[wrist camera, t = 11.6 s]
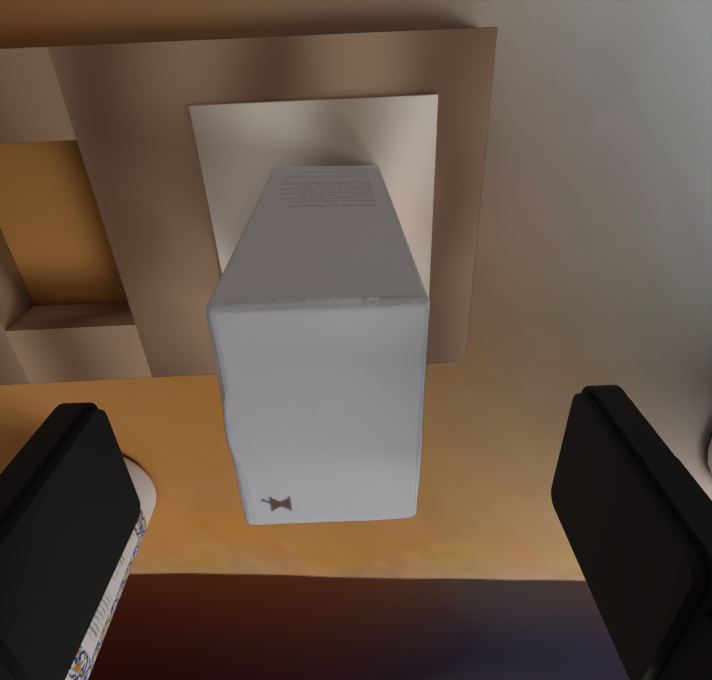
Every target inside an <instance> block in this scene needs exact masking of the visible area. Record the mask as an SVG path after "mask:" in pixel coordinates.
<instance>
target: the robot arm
mask: <svg viewBox="0 0 712 680" xmlns="http://www.w3.org/2000/svg"><path fill="white" fill-rule="evenodd" d="M708 466H709V469H710V472H711V474H712V438H711V442H710V445H709V449H708ZM551 497H552V502H553V506H554V508H555V511H556V513H557V515H558V518H559V520H560V522H561V524H562V527H563V529H564V531H565V534H566V536H567V538H568V540H569V543H570V545H571V547H572V550H573V552H574V554H575V556H576V559H577V561H578V563H579V566H580V568H581V570H582V572H583V575H584V577H585V579H586V582H587V583H588V586H589V588H590V591H591V593H592V595H593V598H594V600H595V602H596V604H597V606H598V609H599V611H600V613H601V616H602V618H603V620H604V623H605V625H606V627H607V629H608V632H609V634H610V636H611V639H612V641H613V643H614V645H615V648H616V650H617V652H618V654H619V657H620V659H621V661H622V664H623V666H624V668H625V671H626V673H627V675H628V677H629V678H630V679H631V680H712V501H711V499H710V498H709V497H708V496H707V494H706V493H705V492H704V491H703V489H702V488H701V487H700V485H699V484H698V483H697V482H696V480H695V479H694V478H693V477H692V475H691V474H690V473H689V472H688V470H687V469H686V468H685V467H684V465H683V464H682V463H681V462H680V460H679V459H678V458H677V457H676V456H675V455H674V454H673V453H672V452H671V450H670V449H669V448H668V447H667V445H666V444H665V443H664V442H663V440H662V439H661V438H660V436H659V435H658V434H657V433H656V431H655V430H654V429H653V428H652V426H651V425H650V424H649V423H648V421H647V420H646V419H645V417H644V416H643V415H642V414H641V412H640V411H639V410H638V409H637V407H636V406H635V405H634V404H633V402H632V401H631V400H630V398H629V397H628V396H627V395H626V393H625V392H624V391H623V390H622V389H621V388H620V387H619V386H617V385H599V386H586V387H585V388H584V389H583V390H582V393H580V394H575V396H574V397H573V400H572V405H571V409H570V413H569V417H568V421H567V425H566V430H565V434H564V438H563V442H562V446H561V450H560V455H559V459H558V463H557V467H556V471H555V475H554V480H553V484H552V489H551ZM140 509H141V505H140V500H139V497H138V494H137V492H136V489H135V487H134V484H133V482H132V479H131V476H130V474H129V471H128V469H127V466H126V463H125V461H124V458H123V456H122V453H121V451H120V448H119V445H118V443H117V440H116V438H115V435H114V432H113V430H112V427H111V425H110V422H109V420H108V417H107V415H106V413H105V412H104V411H103V410H100V409H98V408H97V406H96V405H95V404H94V403H63V404H60V405H58V406H57V407H56V408H55V409H54V410H53V412H52V413H51V414H50V415H49V417H48V418H47V419H46V420H45V421H44V423H43V424H42V425H41V426H40V427H39V429H38V430H37V431H36V432H35V433H34V435H33V436H32V437H31V438H30V439H29V441H28V442H27V443H26V444H25V445H24V447H23V448H22V449H21V450H20V452H19V453H18V454H17V455H16V456H15V458H14V459H13V460H12V461H11V462H10V464H9V465H8V466H7V467H6V468H5V470H4V471H3V472H2V473H1V474H0V680H65V679H66V677H67V675H68V672H69V670H70V668H71V666H72V664H73V661H74V659H75V657H76V655H77V653H78V650H79V648H80V646H81V644H82V642H83V639H84V637H85V635H86V633H87V631H88V629H89V626H90V624H91V622H92V620H93V618H94V615H95V613H96V611H97V609H98V607H99V604H100V602H101V600H102V598H103V596H104V593H105V591H106V589H107V587H108V585H109V583H110V580H111V578H112V576H113V574H114V572H115V569H116V567H117V565H118V563H119V561H120V558H121V556H122V554H123V552H124V550H125V548H126V545H127V543H128V541H129V539H130V537H131V534H132V532H133V530H134V528H135V526H136V523H137V521H138V519H139V516H140Z"/></svg>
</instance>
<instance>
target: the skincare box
mask: <svg viewBox="0 0 712 680" xmlns="http://www.w3.org/2000/svg"><path fill="white" fill-rule="evenodd" d="M429 309H430V301H429V298H428V296H427V293H426V290H425V288H424V285H423V283H422V280H421V277H420V275H419V272H418V269H417V267H416V264H415V262H414V259H413V256H412V254H411V251H410V248H409V245H408V242H407V240H406V238H405V235H404V232H403V229H402V226H401V224H400V221H399V219H398V216H397V213H396V210H395V208H394V205H393V202H392V200H391V197H390V195H389V192H388V189H387V187H386V184H385V182H384V179H383V176H382V174H381V171H380V168H379V167H378V166H376V165H360V166H278V167H275V168H273V170H272V172H271V174H270V177H269V179H268V181H267V183H266V185H265V187H264V189H263V191H262V193H261V195H260V197H259V199H258V201H257V204H256V206H255V208H254V210H253V212H252V214H251V216H250V218H249V220H248V222H247V224H246V226H245V228H244V231H243V233H242V235H241V237H240V239H239V241H238V243H237V245H236V247H235V249H234V251H233V253H232V255H231V257H230V260H229V262H228V264H227V266H226V267H225V270H224V272H223V274H222V276H221V278H220V280H219V283H218V284H217V286H216V288H215V290H214V292H213V294H212V296H211V298H210V301H209V303H208V305H207V309H206V317H207V323H208V328H209V333H210V338H211V343H212V348H213V353H214V358H215V363H216V369H217V375H218V380H219V385H220V390H221V396H222V404H223V415H224V426H225V432H226V437H227V442H228V446H229V449H230V451H231V453H232V457H233V461H234V466H235V471H236V476H237V481H238V485H239V490H240V494H241V499H242V504H243V509H244V514H245V519H246V522H247V523H249V524H250V525H265V524H287V523H311V522H343V521H369V520H387V519H399V518H410V517H413V516H414V515H415V514H416V506H417V495H418V484H419V475H420V463H421V450H422V421H423V398H424V384H425V369H426V353H427V336H428V320H429Z"/></svg>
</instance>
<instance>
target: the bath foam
mask: <svg viewBox="0 0 712 680" xmlns="http://www.w3.org/2000/svg"><path fill="white" fill-rule="evenodd" d="M123 458H124V461H125V463H126V466H127V469H128V471H129V474H130V476H131V479H132V482H133V484H134V487H135V489H136V492H137V494H138V497H139V500H140V505H141V509H140V516H139V519H138V521H137V523H136V526H135V528H134V530H133V532H132V534H131V537H130V539H129V541H128V543H127V545H126V548H125V550H124V552H123V554H122V556H121V558H120V561H119V563H118V565H117V567H116V569H115V572H114V574H113V576H112V578H111V580H110V583H109V585H108V587H107V589H106V591H105V593H104V596H103V598H102V600H101V602H100V604H99V607H98V609H97V611H96V613H95V615H94V618H93V620H92V622H91V624H90V626H89V629H88V631H87V633H86V635H85V637H84V639H83V642H82V644H81V646H80V648H79V650H78V653H77V655H76V657H75V659H74V661H73V664H72V666H71V668H70V670H69V672H68V675H67V677H66V679H65V680H88V678H89V675H90V673H91V670H92V668H93V665H94V662H95V660H96V657H97V655H98V652H99V650H100V647H101V644H102V642H103V639H104V637H105V634H106V632H107V629H108V626H109V624H110V621H111V619H112V616H113V614H114V611H115V609H116V606H117V603H118V601H119V598H120V596H121V593H122V590H123V588H124V585H125V582H126V580H127V578H128V575H129V573H130V570H131V567H132V565H133V562H134V560H135V557H136V555H137V552H138V549H139V547H140V544H141V542H142V539H143V537H144V534H145V531H146V528H147V525H148V523H149V520H150V518H151V515H152V513H153V510H154V507H155V504H156V490H155V487H154V485H153V482H152V480H151V479H150V477H149V476H148V474H147V473H146V472H145V471H144V470H143V469H142V468H141V467H139V466H138V465H137V464H135V463H134V462H132V461H130V460H129V459H127V458H125V457H123Z"/></svg>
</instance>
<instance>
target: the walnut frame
mask: <svg viewBox="0 0 712 680" xmlns="http://www.w3.org/2000/svg"><path fill="white" fill-rule="evenodd" d="M496 36H497V27H483V28H460V29H438V30H415V31H393V32H370V33H347V34H325V35H302V36H280V37H257V38H235V39H212V40H189V41H167V42H144V43H122V44H99V45H77V46H54V47H32V48H9V49H0V144H3V143H25V142H46V141H68V140H77V143H78V146H79V149H80V152H81V155H82V159H83V162H84V165H85V168H86V171H87V174H88V177H89V181H90V184H91V187H92V190H93V193H94V196H95V199H96V202H97V206H98V209H99V212H100V215H101V218H102V221H103V224H104V228H105V231H106V234H107V237H108V240H109V243H110V246H111V250H112V253H113V256H114V259H115V262H116V265H117V268H118V272H119V275H120V278H121V281H122V284H123V287H124V290H125V293H126V297H127V300H128V301H126V302H105V303H85V304H65V305H44V306H33V303H32V301H31V299H30V297H29V294H28V292H27V290H26V287H25V285H24V283H23V281H22V278H21V276H20V274H19V271H18V269H17V267H16V264H15V262H14V260H13V258H12V255H11V253H10V251H9V248H8V246H7V244H6V242H5V239H4V237H3V235H2V232H1V230H0V385H12V384H32V383H52V382H71V381H91V380H111V379H131V378H151V377H170V376H190V375H210V374H217V369H216V363H215V358H214V353H213V348H212V343H211V338H210V333H209V328H208V323H207V317H206V309H207V305H208V303H209V301H210V298H211V296H212V294H213V292H214V290H215V288H216V286H217V284H218V283H219V280H220V278H221V276H222V274H223V272H224V270H225V267H226V266H227V264H228V262H229V260H230V257H231V255H232V253H233V251H234V249H235V247H236V245H237V243H238V241H239V239H240V237H241V235H242V233H243V231H244V228H245V226H246V224H247V222H248V220H249V218H250V216H251V214H252V212H253V210H254V208H255V206H256V204H257V201H258V199H259V197H260V195H261V193H262V191H263V189H264V187H265V185H266V183H267V181H268V179H269V177H270V174H271V172H272V170H273V168H275V167H278V166H360V165H376V166H378V167H379V168H380V171H381V174H382V176H383V179H384V182H385V184H386V187H387V189H388V192H389V195H390V197H391V200H392V202H393V205H394V208H395V210H396V213H397V216H398V219H399V221H400V224H401V226H402V229H403V232H404V235H405V238H406V240H407V242H408V245H409V248H410V251H411V254H412V256H413V259H414V262H415V264H416V267H417V269H418V272H419V275H420V277H421V280H422V283H423V285H424V288H425V290H426V293H427V296H428V298H429V301H430V309H429V320H428V336H427V353H426V364H428V363H448V362H465V356H466V346H467V335H468V325H469V315H470V304H471V294H472V284H473V273H474V263H475V253H476V242H477V232H478V222H479V211H480V201H481V191H482V180H483V170H484V160H485V149H486V139H487V129H488V118H489V108H490V98H491V87H492V77H493V67H494V56H495V46H496Z"/></svg>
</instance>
